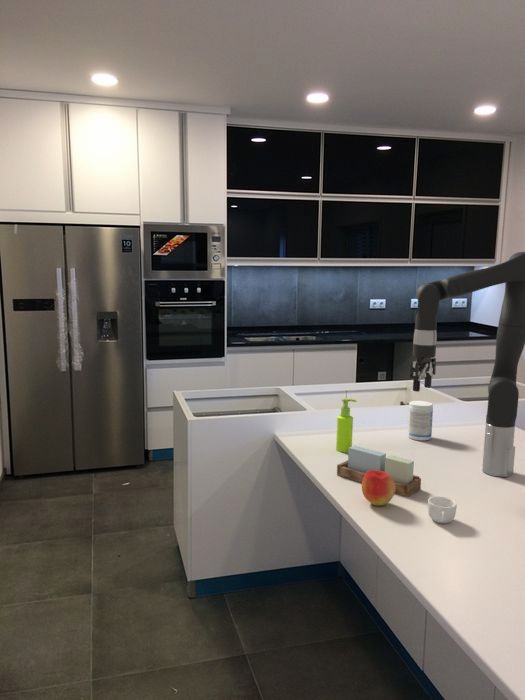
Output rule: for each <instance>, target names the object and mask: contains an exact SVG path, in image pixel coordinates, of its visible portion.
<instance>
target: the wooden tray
mask: <svg viewBox="0 0 525 700" xmlns="http://www.w3.org/2000/svg"><path fill="white" fill-rule="evenodd" d="M336 465H337V466H336V476H338V477H342V478H345V479H348V480H352V481H354V480H355V481H354V482H357V481H358V483H361V484H362V481H363V477H364V475H365V474H366V473H363V472H360V471H356V470H353V469H350V468H348V459H347V460H346V461H343V462H341V463H338V464H336ZM394 483H395V486H396V490H395V494H396V493H397V495H399V496H403V497H406V498H408V497H409V498H410V496H412V495H414V494H415V493H417V492H419V491H420V490H421V488H422V487H421V486H422V485H421V484H422V478H420V476H419V475H415V474H413V481H411V482H409V483H407V484H405V485H404V484H400V483H397V482H394Z"/></svg>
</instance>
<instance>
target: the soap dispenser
mask: <svg viewBox="0 0 525 700" xmlns="http://www.w3.org/2000/svg"><path fill="white" fill-rule="evenodd" d="M341 401H342V403H343V406H342V407H340V414H339V415H337V418H336V419H337V420H336V444H335V445H336V447H335V451H337V452H339V453H348V451H349V447H352V446H353V429H354V426H353V424H354V417H353V415H350V414H351V412H350V411H351V408H350V407H349V402H353V403H357V399H354V398H341Z"/></svg>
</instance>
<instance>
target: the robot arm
mask: <svg viewBox="0 0 525 700" xmlns="http://www.w3.org/2000/svg"><path fill="white" fill-rule="evenodd" d="M502 284H505V285H504V287H505V288H504V294H503V295H504V296H503V300H502V304H501V308H500V309H501V310H500V314H499V320H498V326H497V331H496V339H495V359H494V364H493V368H492V372H491V376H490V379H489V383H488V387H487V391H488V392H487V393H488V398H487V399H488V401H487V408H486V410H487V411H486V417H485V428H484V441H483V442H484V443H483V455H482V469H481V470H482V472H483V473H485V474H487V475H490V476H494V477H500V478H501V477H502V478H509V477H510V476H511V475H512V474H514V466H515V456H516V455H515V454H516V446H514V442H515V431H516V430H515V429H516V421H517V415H518V407H519V405H518V404H519V397H520V395H519V394H520V392H519V387H518V386H517V376H518V375H517V374H518V365H519V362H520V359H521V356H522V353H523V351H524V347H525V251H519V252H515V253H513V254H512V255H511V256H510V257H509V259H508V260H506V261H504V262H501V263H498V264H496V265H492V266H489V267H484V268H481V269H475V270H470V271H466V272H463V273H459V274H455V275H453V276H449V277H446V278H445V279H439V280H435V281H430V282H427V283H424V284H421V285H420V286H418V288H417V289H416V291H415V292H416V293H415V296H416V299H417V313H416V314H415V320H414V321H415V323H414V332H413V342H412V343H413V344H412V346H413V347H412V356H413V357H415V358H416V360H415V361H410V370H409V379H411V380H412V381H413V382H412V383H413V384H412V391H413V392H417V393H418V392H420V391H421V379H422V376H424V387H423V388H427V389H430V388H432V379H433V378H434V377H433V376H434V375H436V371H437V370H436V367H437V365H436V364H437V358H435V357H436V356H437V355H436V353H437V340H438V339H437V337H438V335H437V324H438V310H439V307H440V306H439V305H440V301H442V300H445V299H452V298H453V299H454V298H458V297H461V296H464V295H468V294H471V293H474V292H478V291H480V290H483V289H486V288H491V287H494V286H498V285H502Z"/></svg>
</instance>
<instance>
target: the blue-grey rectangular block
mask: <svg viewBox="0 0 525 700" xmlns="http://www.w3.org/2000/svg"><path fill="white" fill-rule="evenodd" d="M347 453H348V454H347V455H348V456H347V460H348V468H350V469H353V470H356V471H360V472H363V473H367V472H368V471H369V470H378V471H384V472H385V458H386V457H387V453H386V452H381V451H377V450H374V449H369V448H366V447H361V446H357V445H355V444H354V445H352V447H349V451H348V452H347Z"/></svg>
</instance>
